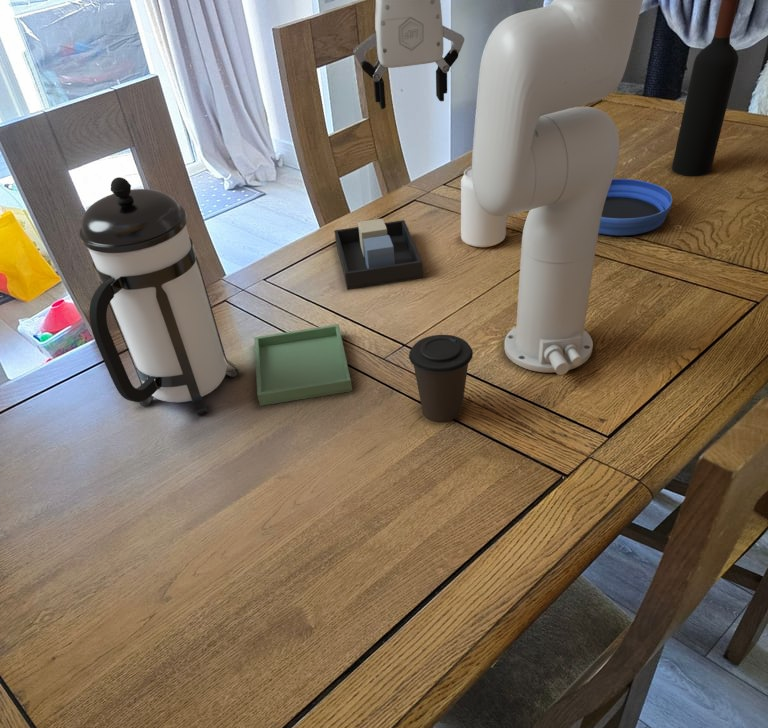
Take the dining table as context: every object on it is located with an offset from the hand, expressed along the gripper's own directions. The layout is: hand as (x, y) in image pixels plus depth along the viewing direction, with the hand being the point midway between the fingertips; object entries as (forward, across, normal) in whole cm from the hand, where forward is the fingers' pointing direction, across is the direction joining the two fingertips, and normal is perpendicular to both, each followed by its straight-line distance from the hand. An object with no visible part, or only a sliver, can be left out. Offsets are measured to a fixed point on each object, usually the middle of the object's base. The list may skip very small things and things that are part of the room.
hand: (411, 102), depth 114 cm
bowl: (+23, +38, -3) cm, 44 cm away
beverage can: (+23, +12, -5) cm, 26 cm away
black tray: (+23, -8, -7) cm, 25 cm away
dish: (+22, -24, -38) cm, 50 cm away
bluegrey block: (+22, -8, -11) cm, 26 cm away
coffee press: (+23, -41, -40) cm, 61 cm away
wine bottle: (+23, +59, +13) cm, 65 cm away
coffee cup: (+22, -5, -52) cm, 57 cm away
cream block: (+22, -8, -4) cm, 24 cm away
